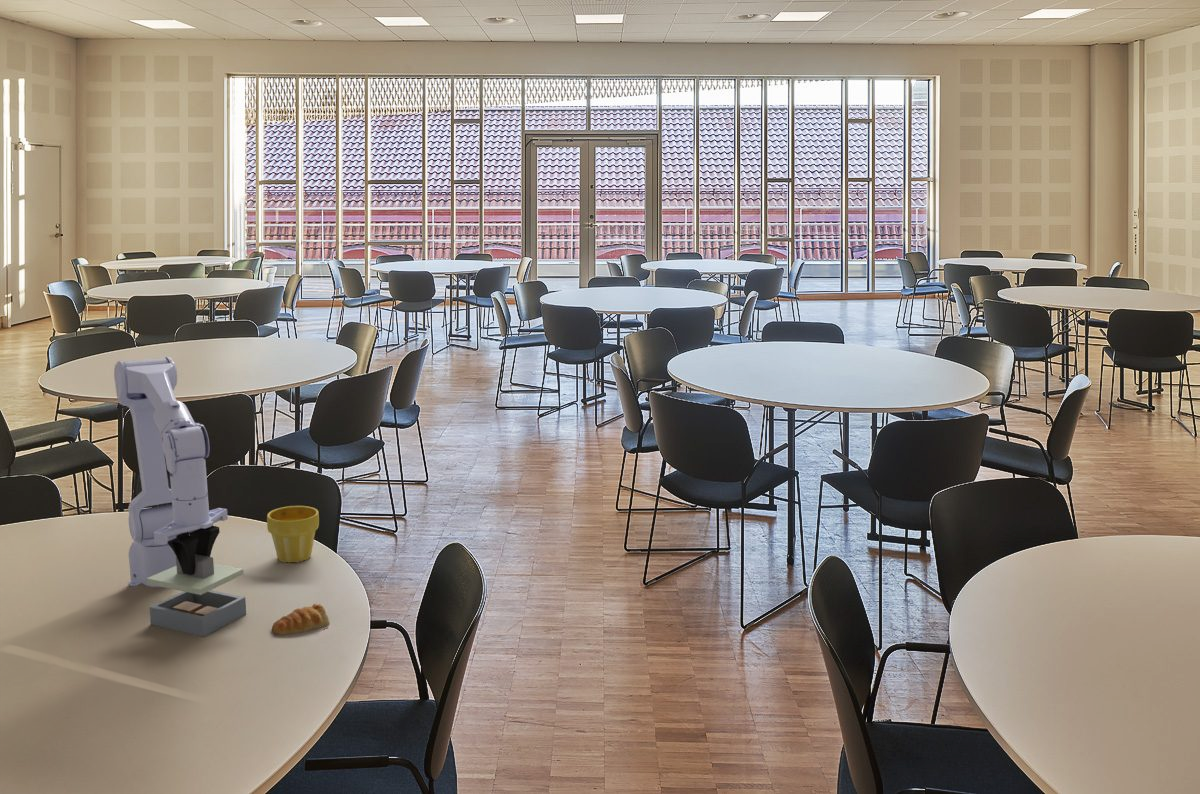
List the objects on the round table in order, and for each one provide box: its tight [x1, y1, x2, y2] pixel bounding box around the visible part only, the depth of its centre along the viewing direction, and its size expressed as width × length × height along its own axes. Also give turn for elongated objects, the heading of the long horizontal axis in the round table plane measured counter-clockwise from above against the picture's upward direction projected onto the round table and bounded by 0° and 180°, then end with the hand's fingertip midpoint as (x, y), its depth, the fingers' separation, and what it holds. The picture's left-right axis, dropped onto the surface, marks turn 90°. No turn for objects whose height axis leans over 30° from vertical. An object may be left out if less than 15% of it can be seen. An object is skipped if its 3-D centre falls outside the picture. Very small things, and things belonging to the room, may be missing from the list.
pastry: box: [271, 603, 331, 636], centre depth 166 cm, size 9×7×4 cm
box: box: [148, 589, 247, 638], centre depth 168 cm, size 12×10×4 cm
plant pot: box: [266, 505, 320, 564], centre depth 200 cm, size 10×10×10 cm
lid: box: [147, 554, 244, 595], centre depth 167 cm, size 12×10×5 cm
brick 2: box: [195, 606, 218, 616], centre depth 167 cm, size 4×3×2 cm
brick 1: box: [172, 601, 203, 615], centre depth 169 cm, size 4×3×2 cm
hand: (195, 570), depth 167 cm, fingers closed on lid, 2 cm apart
